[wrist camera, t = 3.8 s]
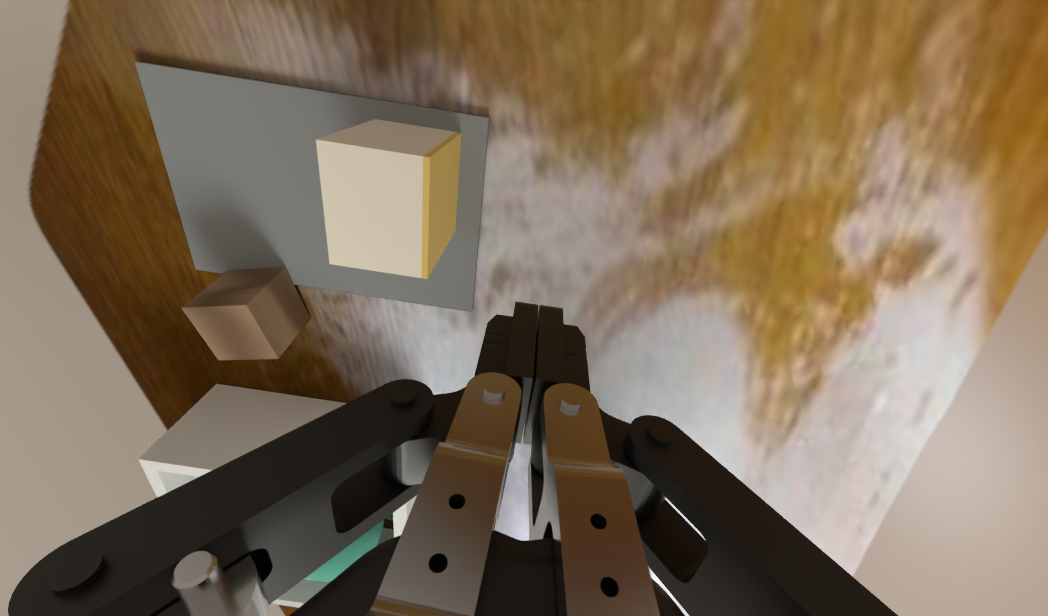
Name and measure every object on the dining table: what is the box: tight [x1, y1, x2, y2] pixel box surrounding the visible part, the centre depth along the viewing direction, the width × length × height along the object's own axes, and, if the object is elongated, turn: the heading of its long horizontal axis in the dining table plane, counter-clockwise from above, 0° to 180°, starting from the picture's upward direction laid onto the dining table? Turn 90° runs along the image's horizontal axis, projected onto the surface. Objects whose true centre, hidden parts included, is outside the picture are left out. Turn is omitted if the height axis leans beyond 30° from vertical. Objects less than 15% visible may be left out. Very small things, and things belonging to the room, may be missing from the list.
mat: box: [135, 62, 490, 312], centre depth 27 cm, size 20×13×1 cm, turn 82°
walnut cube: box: [181, 267, 311, 360], centre depth 29 cm, size 4×4×4 cm
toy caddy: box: [139, 384, 417, 607], centre depth 38 cm, size 19×19×8 cm
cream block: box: [316, 119, 461, 279], centre depth 23 cm, size 5×6×7 cm
